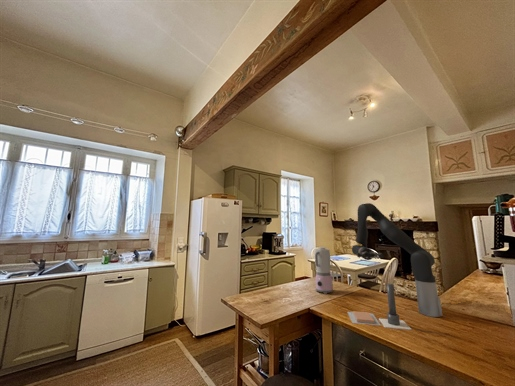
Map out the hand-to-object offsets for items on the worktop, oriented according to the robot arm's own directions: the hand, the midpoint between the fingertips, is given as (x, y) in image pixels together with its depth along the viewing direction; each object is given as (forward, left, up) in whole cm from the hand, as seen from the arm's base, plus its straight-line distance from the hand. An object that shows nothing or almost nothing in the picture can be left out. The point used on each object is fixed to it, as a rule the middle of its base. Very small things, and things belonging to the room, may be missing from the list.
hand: (373, 256), depth 123 cm
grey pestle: (-2, +17, -29) cm, 34 cm away
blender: (+28, -30, -30) cm, 51 cm away
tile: (+11, +8, -29) cm, 32 cm away
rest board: (-2, +17, -30) cm, 35 cm away
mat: (+11, +13, -30) cm, 34 cm away
